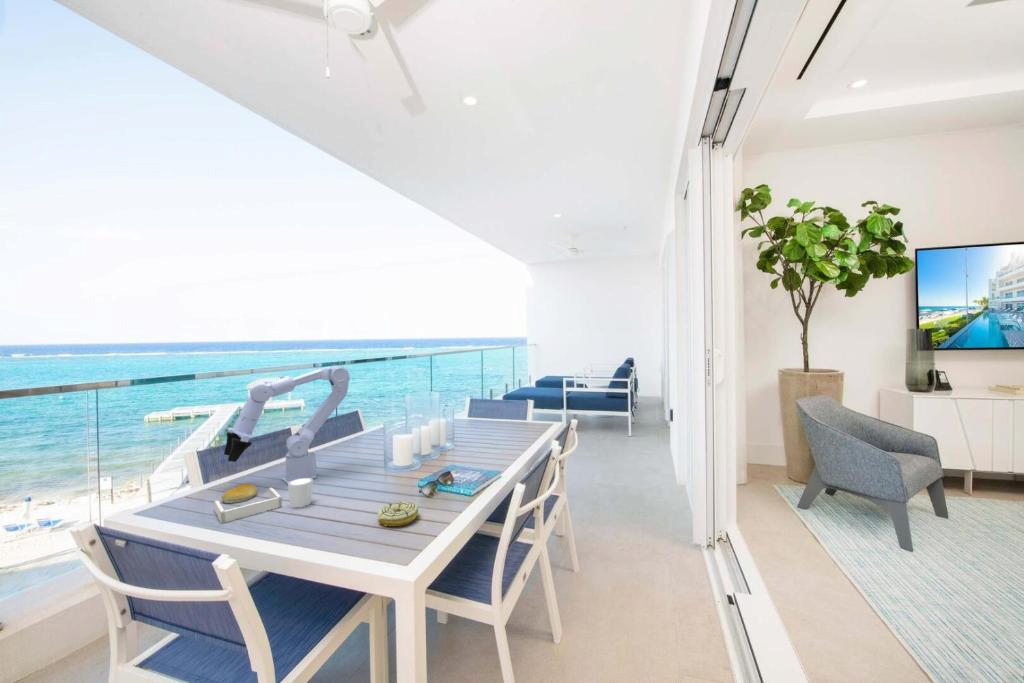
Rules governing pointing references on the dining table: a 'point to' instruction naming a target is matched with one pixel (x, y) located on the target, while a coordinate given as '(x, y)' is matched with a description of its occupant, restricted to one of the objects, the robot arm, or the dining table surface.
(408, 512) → the decorated donut
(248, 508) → the tray
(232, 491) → the bread roll
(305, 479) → the white short cylinder
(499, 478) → the dining table surface
